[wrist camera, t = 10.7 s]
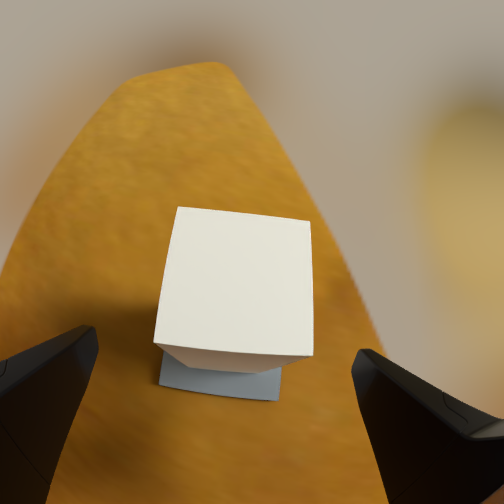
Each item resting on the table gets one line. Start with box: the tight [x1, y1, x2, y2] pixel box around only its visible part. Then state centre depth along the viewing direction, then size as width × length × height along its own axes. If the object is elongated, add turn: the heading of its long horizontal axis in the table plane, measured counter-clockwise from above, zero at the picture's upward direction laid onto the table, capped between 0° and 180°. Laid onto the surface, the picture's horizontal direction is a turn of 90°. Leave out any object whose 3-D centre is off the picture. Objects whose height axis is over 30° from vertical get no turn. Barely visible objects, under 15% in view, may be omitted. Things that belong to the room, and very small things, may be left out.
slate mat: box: [159, 350, 282, 401], centre depth 17 cm, size 7×7×1 cm
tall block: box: [154, 207, 313, 373], centre depth 12 cm, size 4×4×10 cm
